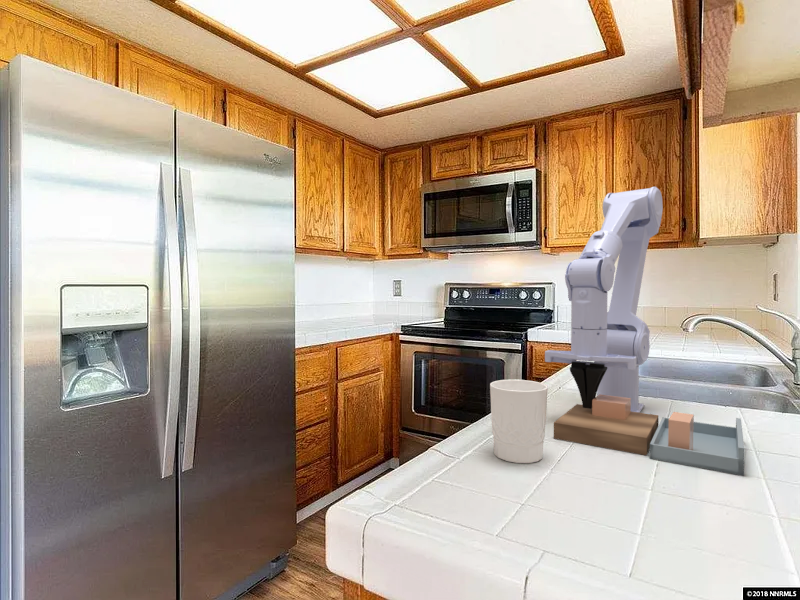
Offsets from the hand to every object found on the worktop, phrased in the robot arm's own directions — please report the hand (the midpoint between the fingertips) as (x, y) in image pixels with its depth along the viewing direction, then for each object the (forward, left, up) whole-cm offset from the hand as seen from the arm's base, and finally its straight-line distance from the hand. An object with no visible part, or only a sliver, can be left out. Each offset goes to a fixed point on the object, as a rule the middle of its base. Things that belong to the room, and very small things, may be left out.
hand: (588, 407), depth 80 cm
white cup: (+21, -5, -3) cm, 21 cm away
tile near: (+8, +13, 0) cm, 15 cm away
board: (+4, +4, -3) cm, 6 cm away
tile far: (0, +4, -1) cm, 4 cm away
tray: (+4, +16, -3) cm, 17 cm away
